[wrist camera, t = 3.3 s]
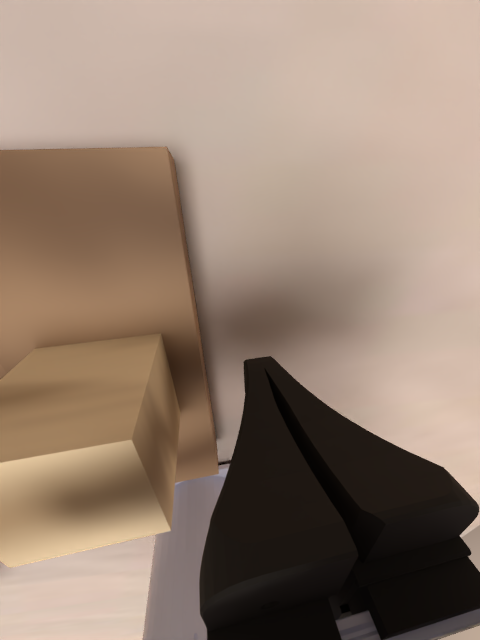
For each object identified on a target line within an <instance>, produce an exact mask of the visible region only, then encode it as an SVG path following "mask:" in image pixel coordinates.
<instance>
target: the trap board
mask: <svg viewBox="0 0 480 640" xmlns="http://www.w3.org/2000/svg"><path fill="white" fill-rule="evenodd" d="M153 334H161V335H162V339H163V343H164V347H165V351H166V356H167V360H168V364H169V368H170V372H171V376H172V380H173V384H174V388H175V392H176V396H177V400H178V404H179V408H180V412H181V413H180V426H179V438H178V451H177V463H176V476H175V483H177V482H182V481H187V480H192V479H197V478H202V477H206V476H211V475H216V474H219V468H218V455H217V442H216V435H215V428H214V421H213V415H212V408H211V402H210V395H209V388H208V382H207V375H206V368H205V362H204V355H203V349H202V342H201V335H200V329H199V322H198V315H197V309H196V302H195V296H194V289H193V282H192V276H191V269H190V262H189V256H188V249H187V243H186V236H185V229H184V223H183V216H182V209H181V203H180V196H179V190H178V183H177V176H176V170H175V163H174V159H173V157H172V156H171V154H170V152H169V150H168V148H167V147H137V148H88V149H38V150H0V380H1V379H2V378H3V377H4V376H5V375H6V374H7V373H8V372H10V371H11V370H12V369H13V368H14V367H15V366H16V365H17V364H18V363H20V362H21V361H22V360H23V359H24V358H25V357H26V356H27V355H28V354H30V353H31V352H32V351H33V350H34V349H38V348H46V347H54V346H62V345H70V344H79V343H87V342H95V341H103V340H112V339H120V338H128V337H136V336H145V335H153Z"/></svg>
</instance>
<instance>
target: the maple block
mask: <svg viewBox="0 0 480 640" xmlns="http://www.w3.org/2000/svg"><path fill="white" fill-rule="evenodd" d="M180 413H181V412H180V408H179V404H178V400H177V396H176V392H175V388H174V384H173V380H172V376H171V372H170V368H169V364H168V360H167V356H166V351H165V347H164V343H163V339H162V335H161V334H153V335H145V336H136V337H128V338H120V339H112V340H103V341H95V342H87V343H79V344H70V345H62V346H54V347H46V348H38V349H34V350H33V351H32V352H31V353H30V354H28V355H27V356H26V357H25V358H24V359H23V360H22V361H21V362H20V363H18V364H17V365H16V366H15V367H14V368H13V369H12V370H11V371H10V372H8V373H7V374H6V375H5V376H4V377H3V378H2V379H1V380H0V561H1V562H2V563H3V564H5V565H6V566H8V567H9V568H12V567H16V566H20V565H25V564H29V563H33V562H38V561H42V560H46V559H51V558H55V557H59V556H64V555H68V554H73V553H77V552H81V551H86V550H90V549H94V548H99V547H103V546H107V545H112V544H116V543H120V542H125V541H129V540H133V539H138V538H142V537H146V536H151V535H155V534H159V533H164V532H168V531H171V526H172V513H173V501H174V488H175V476H176V463H177V451H178V438H179V426H180Z"/></svg>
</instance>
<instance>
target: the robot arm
mask: <svg viewBox="0 0 480 640" xmlns="http://www.w3.org/2000/svg"><path fill="white" fill-rule="evenodd" d="M244 382H245V402H244V409H243V415H242V421H241V425H240V430H239V434H238V438H237V442H236V446H235V449H234V453H233V456H232V460H231V463H229V464H224V465H219V466H218V468H219V474H216V475H211V476H206V477H202V478H197V479H192V480H187V481H182V482H177V483H175V488H174V501H173V513H172V526H171V531H168V532H164V533H159V534H156V537H155V545H154V553H153V561H152V569H151V577H150V585H149V592H148V600H147V608H146V616H145V624H144V632H143V640H438V639H441V638H444V637H447V636H450V635H452V634H456V633H458V632H462V631H464V630H467V629H470V628H473V627H476V626H479V625H480V572H479V571H478V569H477V568H476V567H475V566H474V564H473V563H472V562H471V560H470V559H469V558H468V556H470V555H471V551H470V549H469V548H468V546H467V545H466V544H465V543H464V541H463V540H462V539H461V537H460V536H459V535H460V534H461V533H462V532H463V531H464V530H465V529H466V528H467V527H468V526H469V525H470V524H471V523H472V522H473V521H474V520H475V518H476V517H477V516H478V513H479V506H478V504H477V502H476V501H475V500H474V499H473V498H472V497H471V496H470V495H469V494H468V493H467V492H466V490H465V489H464V488H463V487H462V486H461V485H460V484H459V483H458V482H457V481H456V480H455V479H454V478H453V477H452V476H451V474H450V473H449V472H447V471H446V470H445V469H444V467H441V466H439V465H437V464H435V463H432V462H430V461H428V460H426V459H423V458H421V457H419V456H417V455H415V454H412V453H410V452H408V451H406V450H404V449H402V448H399V447H398V446H396V445H394V444H392V443H390V442H388V441H386V440H384V439H382V438H380V437H378V436H376V435H374V434H373V433H371V432H369V431H367V430H365V429H364V428H362V427H360V426H359V425H357V424H355V423H354V422H352V421H350V420H348V419H347V418H345V417H344V416H342V415H341V414H339V413H338V412H336V411H335V410H333V409H332V408H330V407H329V406H327V405H326V404H325V403H323V402H322V401H321V400H319V399H318V398H317V397H316V396H314V395H313V394H312V393H310V392H309V391H308V390H307V389H306V388H304V387H303V386H302V385H301V384H300V383H299V382H298V381H296V380H295V379H294V378H293V377H292V376H291V375H290V374H289V373H288V372H287V371H286V370H285V369H284V368H283V367H282V366H281V365H280V364H279V363H278V362H277V361H276V360H275V359H274V358H272V357H271V356H269V357H262V358H255V359H247V360H245V361H244Z"/></svg>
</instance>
